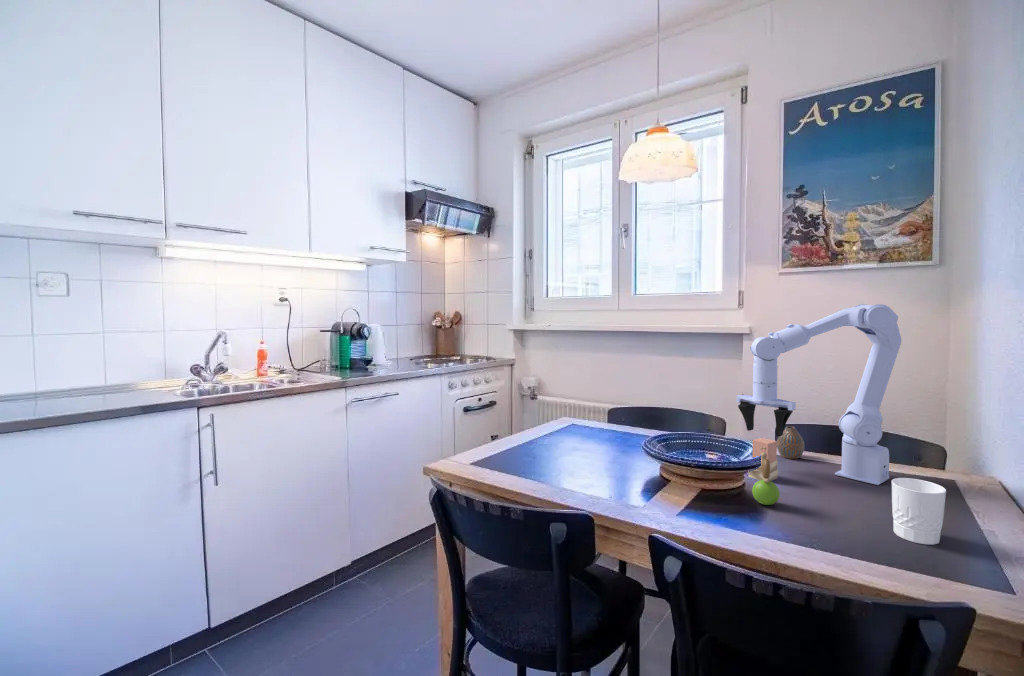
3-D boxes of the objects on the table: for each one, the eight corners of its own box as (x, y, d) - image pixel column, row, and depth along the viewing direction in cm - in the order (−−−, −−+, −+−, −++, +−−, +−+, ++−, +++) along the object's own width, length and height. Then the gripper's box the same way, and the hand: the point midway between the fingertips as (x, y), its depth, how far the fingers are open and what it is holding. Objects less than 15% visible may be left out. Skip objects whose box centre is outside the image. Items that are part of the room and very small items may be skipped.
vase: (796, 453, 142) (797, 424, 142) (808, 460, 135) (809, 430, 135) (772, 453, 143) (772, 424, 142) (783, 460, 136) (783, 430, 135)
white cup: (879, 528, 95) (880, 478, 94) (916, 525, 95) (917, 476, 95) (916, 548, 87) (918, 494, 86) (956, 545, 87) (958, 492, 87)
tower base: (778, 479, 123) (778, 469, 122) (767, 483, 120) (767, 473, 120) (758, 473, 127) (759, 464, 127) (748, 477, 124) (748, 468, 124)
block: (776, 460, 122) (776, 441, 122) (767, 463, 120) (768, 443, 120) (761, 456, 125) (761, 437, 125) (752, 459, 123) (752, 440, 123)
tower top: (777, 469, 123) (777, 459, 123) (769, 474, 119) (769, 464, 119) (757, 464, 126) (757, 455, 126) (748, 469, 123) (748, 459, 123)
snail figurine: (775, 499, 110) (776, 447, 109) (781, 510, 103) (782, 456, 103) (749, 496, 111) (750, 445, 111) (753, 507, 105) (754, 454, 104)
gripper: (730, 380, 130) (730, 430, 131) (786, 387, 118) (785, 441, 119) (744, 378, 134) (743, 425, 135) (799, 384, 122) (798, 436, 123)
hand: (764, 432), depth 127 cm, fingers open, 7 cm apart
